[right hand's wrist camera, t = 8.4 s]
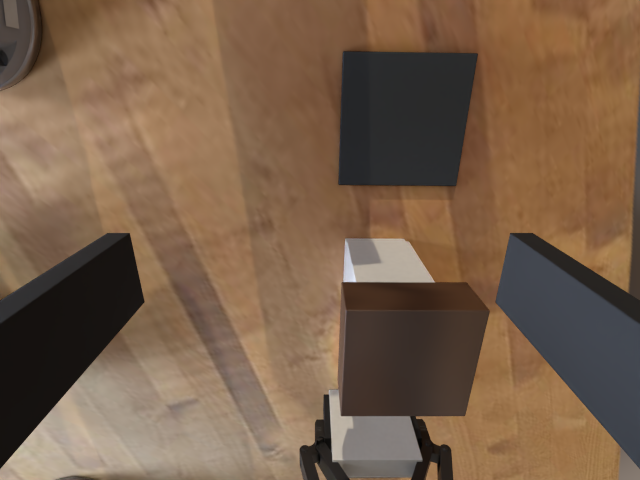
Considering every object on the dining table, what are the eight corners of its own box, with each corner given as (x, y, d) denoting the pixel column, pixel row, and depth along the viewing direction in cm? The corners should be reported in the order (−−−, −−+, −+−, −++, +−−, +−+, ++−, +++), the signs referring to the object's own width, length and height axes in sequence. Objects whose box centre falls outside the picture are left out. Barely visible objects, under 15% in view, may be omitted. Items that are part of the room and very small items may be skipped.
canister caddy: (395, 402, 52) (422, 505, 39) (327, 402, 51) (332, 505, 38) (417, 234, 41) (463, 298, 28) (332, 234, 41) (340, 297, 28)
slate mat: (338, 183, 39) (338, 184, 39) (343, 51, 34) (343, 51, 34) (454, 185, 39) (456, 185, 39) (476, 53, 34) (478, 53, 34)
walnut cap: (337, 379, 32) (340, 416, 28) (341, 281, 28) (345, 310, 24) (447, 379, 32) (465, 416, 28) (467, 282, 28) (490, 310, 24)
